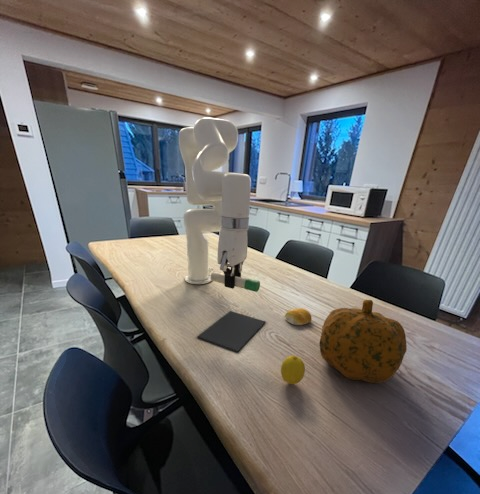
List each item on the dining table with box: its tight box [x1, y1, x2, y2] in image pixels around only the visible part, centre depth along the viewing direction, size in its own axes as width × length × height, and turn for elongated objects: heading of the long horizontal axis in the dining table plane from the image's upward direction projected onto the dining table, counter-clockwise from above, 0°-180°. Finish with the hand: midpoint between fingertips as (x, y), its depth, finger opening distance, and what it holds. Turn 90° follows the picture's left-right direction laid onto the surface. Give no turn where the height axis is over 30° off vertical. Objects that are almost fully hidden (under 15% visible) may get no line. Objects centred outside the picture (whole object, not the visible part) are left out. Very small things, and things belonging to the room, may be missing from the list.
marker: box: [210, 271, 261, 292], centre depth 79 cm, size 15×3×3 cm, turn 62°
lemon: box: [280, 355, 306, 385], centre depth 63 cm, size 6×6×8 cm
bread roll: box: [284, 308, 312, 326], centre depth 93 cm, size 8×9×4 cm
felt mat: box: [197, 310, 266, 353], centre depth 85 cm, size 20×14×1 cm
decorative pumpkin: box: [318, 299, 408, 384], centre depth 67 cm, size 20×21×20 cm
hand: (232, 284), depth 80 cm, fingers closed on marker, 3 cm apart
